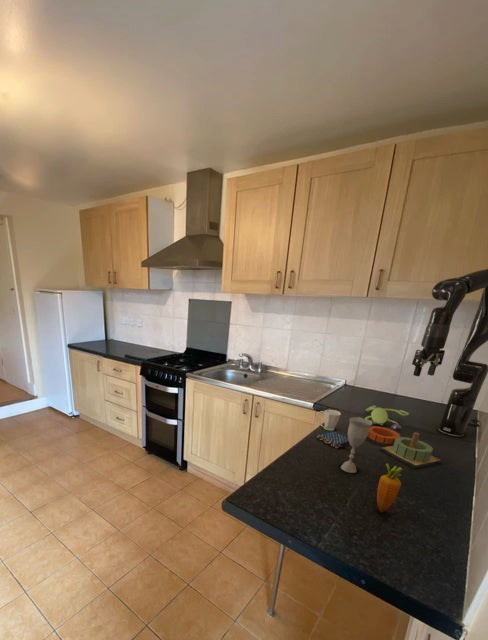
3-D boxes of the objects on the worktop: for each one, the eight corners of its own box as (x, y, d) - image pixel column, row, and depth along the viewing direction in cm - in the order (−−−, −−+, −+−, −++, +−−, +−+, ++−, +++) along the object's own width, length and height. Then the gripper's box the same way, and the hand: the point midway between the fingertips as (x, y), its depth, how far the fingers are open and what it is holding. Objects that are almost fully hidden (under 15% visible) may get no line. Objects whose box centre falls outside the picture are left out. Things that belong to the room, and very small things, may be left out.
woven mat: (336, 449, 129) (337, 444, 128) (315, 438, 137) (316, 433, 137) (354, 445, 133) (355, 440, 133) (332, 434, 142) (333, 430, 141)
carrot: (367, 506, 95) (380, 460, 90) (383, 506, 95) (397, 460, 90) (378, 518, 90) (392, 470, 85) (395, 518, 91) (410, 470, 86)
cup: (333, 433, 143) (337, 416, 140) (311, 426, 149) (315, 409, 147) (339, 429, 148) (343, 412, 145) (318, 422, 154) (321, 406, 152)
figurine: (408, 420, 164) (411, 409, 162) (399, 436, 144) (403, 424, 142) (367, 410, 175) (370, 400, 173) (354, 423, 155) (357, 412, 153)
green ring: (406, 444, 133) (409, 435, 132) (436, 459, 123) (440, 449, 121) (385, 448, 129) (388, 439, 127) (415, 463, 118) (418, 453, 117)
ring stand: (404, 446, 135) (411, 424, 131) (440, 463, 123) (448, 439, 119) (380, 450, 130) (386, 427, 126) (414, 469, 117) (422, 443, 114)
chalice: (350, 476, 110) (362, 426, 104) (333, 466, 116) (344, 419, 110) (364, 471, 114) (377, 423, 108) (347, 462, 119) (358, 416, 113)
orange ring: (378, 433, 146) (381, 425, 145) (404, 445, 136) (406, 436, 135) (358, 436, 142) (361, 427, 141) (383, 449, 131) (386, 439, 130)
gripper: (433, 336, 122) (420, 378, 128) (457, 336, 128) (444, 377, 133) (413, 333, 129) (402, 373, 134) (437, 333, 134) (425, 372, 140)
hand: (423, 375), depth 134 cm, fingers open, 8 cm apart
